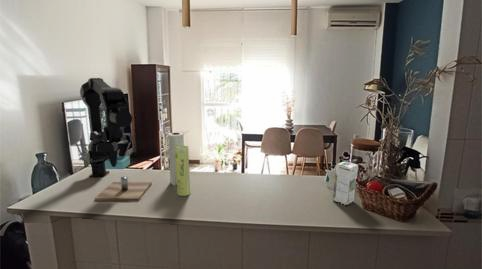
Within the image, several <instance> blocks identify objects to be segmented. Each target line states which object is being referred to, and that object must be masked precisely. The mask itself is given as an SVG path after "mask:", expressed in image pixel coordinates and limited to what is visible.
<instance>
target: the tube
mask: <svg viewBox="0 0 482 269" xmlns="http://www.w3.org/2000/svg"><path fill="white" fill-rule="evenodd" d="M175 155H176V176H177V185H176V192H177V195H178V196H180V197H186V196H189V195H190V194H191V181H190V180H191V179H190V162H189V161H190V159H189V158H190V157H189V146H188V145H187V146H186V145H184V146H183V145H178V144H175Z"/></svg>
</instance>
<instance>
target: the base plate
mask: <svg viewBox="0 0 482 269" xmlns="http://www.w3.org/2000/svg"><path fill="white" fill-rule="evenodd" d="M152 184H153V183H152V181H151V182H150V181H149V182H148V181H128V190H127V191H122V188H121V181H112V182H111V183H110V184H108V186H107V187H106V188H104V189H103V190H102V191H101V192H100V193H98V195H96V196H95V197H94V201H96V202H139V201H140V200H141V199H142V198H143V196H144V195H145V194H146V192H148V190H149V189H150V188H151V186H152Z"/></svg>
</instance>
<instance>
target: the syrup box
mask: <svg viewBox="0 0 482 269" xmlns="http://www.w3.org/2000/svg"><path fill="white" fill-rule="evenodd" d="M358 171H359V164H356V163H354V162H350V161H349V162H348V161H341V162H339V163H337V164H336V166H335V174H334V186H333V196H332V201H333V200H336V201H338V202H341V203H344V204H349V203H350V202H352V201H354V202H355V198H356V197H355V196H356V189H357V181H356V179H358Z"/></svg>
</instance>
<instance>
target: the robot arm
mask: <svg viewBox="0 0 482 269" xmlns="http://www.w3.org/2000/svg"><path fill="white" fill-rule="evenodd" d="M79 95H80V98H82V102H83V104H85V105H86V107H87V113H88V122H89V131H90V133H89V140H90V142H89V144H88V146H87V152H86V156H85V161H86V163H87V164H88V165H91V174H89V175H88V176H89V177H90V178H104V177H105V176H107V175H108V174H109V173H110V171H109V170H108V171H107V169H105V161H106V160H108V159H109V161H110V163H111V165H112V167H115V166H116V163H117V159H118V156H126V155H127V153H128V150H129V147H130V145H131V143H132V141H133V140H134V135H133V134H132V133H131V132H124V129H125V128H127V127H129V126H131V124H132V122H133V116H132V114H131V113H130V112H129V111H127V109H128V108H129V102H128V100H127V98H126V96H125V93H124V92H123V90H122V89H121V88H118V87H112V86H110V85H109V84H108V83H106V82H105V81H104V79H103V78H101V77H90V78H89V79H87V81H86V82H85V83H83V84H81V86H80V90H79ZM101 105H102V107H103V109H104V117H105V126H104V127H103V126H102V120H101V111H100V110H101V108H100V107H101ZM102 127H103V128H102Z"/></svg>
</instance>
